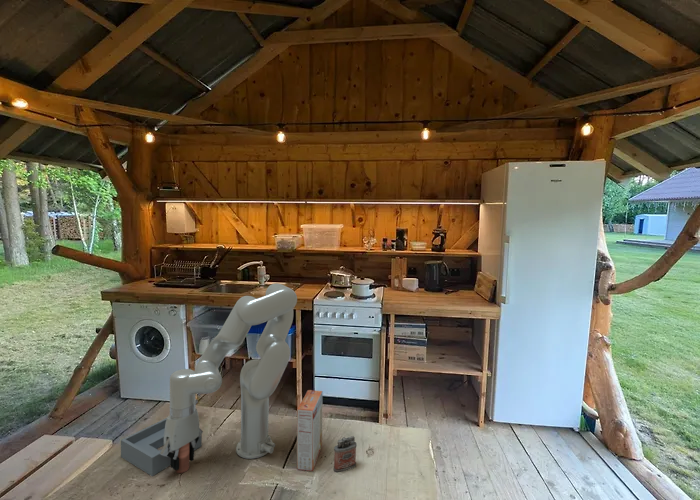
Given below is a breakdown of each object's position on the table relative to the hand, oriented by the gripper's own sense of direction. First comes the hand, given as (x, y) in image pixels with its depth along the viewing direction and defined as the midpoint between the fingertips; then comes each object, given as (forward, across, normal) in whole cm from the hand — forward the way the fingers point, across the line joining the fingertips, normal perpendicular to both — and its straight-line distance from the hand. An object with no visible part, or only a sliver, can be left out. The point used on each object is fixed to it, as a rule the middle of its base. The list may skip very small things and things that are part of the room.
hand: (182, 463), depth 111 cm
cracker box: (+2, -26, +32) cm, 41 cm away
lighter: (+2, -28, +45) cm, 53 cm away
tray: (+2, -2, -14) cm, 14 cm away
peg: (+2, 0, 0) cm, 2 cm away
